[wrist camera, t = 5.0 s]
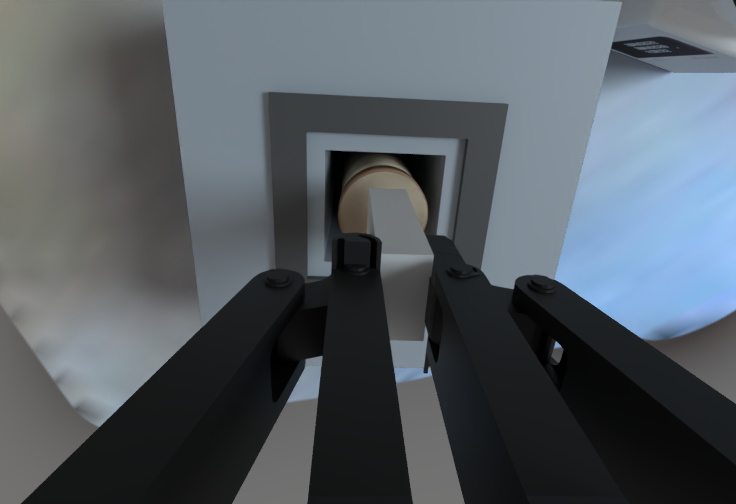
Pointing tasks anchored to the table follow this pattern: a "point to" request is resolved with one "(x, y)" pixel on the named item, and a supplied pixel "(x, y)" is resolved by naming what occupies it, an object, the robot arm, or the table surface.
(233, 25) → the socket block
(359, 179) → the peg
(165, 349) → the table surface
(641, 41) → the container
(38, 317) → the table surface
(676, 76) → the table surface
